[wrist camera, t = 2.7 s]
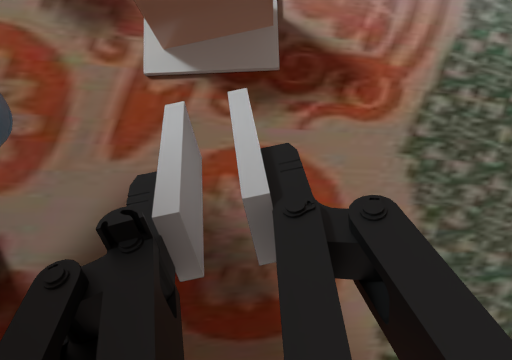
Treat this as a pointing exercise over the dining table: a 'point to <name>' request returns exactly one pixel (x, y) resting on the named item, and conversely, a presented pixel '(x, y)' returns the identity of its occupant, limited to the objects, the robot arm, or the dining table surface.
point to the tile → (203, 18)
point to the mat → (215, 53)
